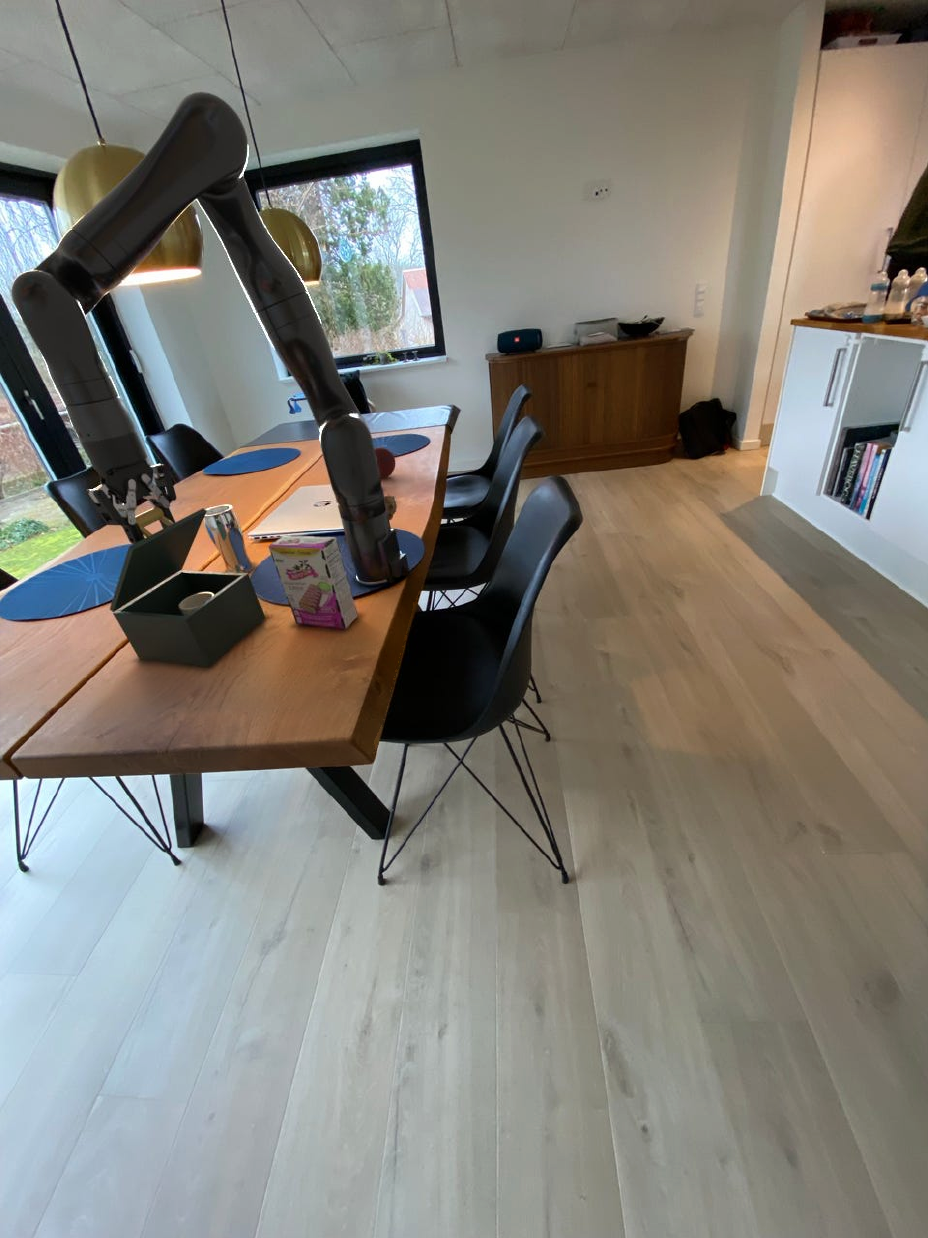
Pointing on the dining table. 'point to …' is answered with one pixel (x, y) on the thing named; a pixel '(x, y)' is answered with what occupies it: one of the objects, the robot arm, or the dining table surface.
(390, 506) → the lion figurine
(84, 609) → the dining table surface
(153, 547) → the lid
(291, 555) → the candy bar box
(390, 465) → the decorative ball
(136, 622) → the open lidded box
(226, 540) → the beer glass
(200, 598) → the cup
